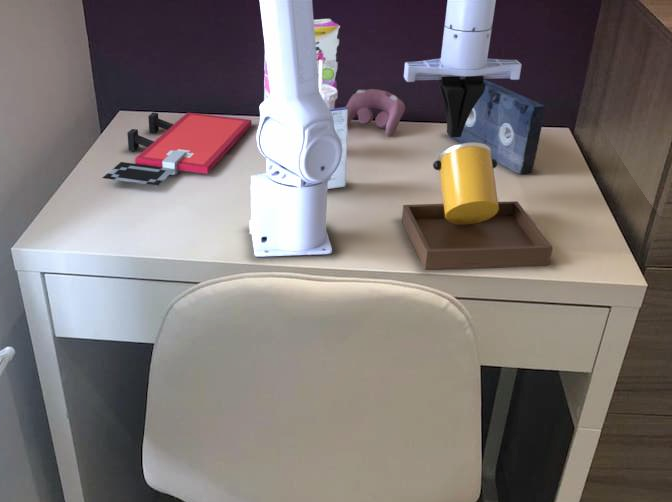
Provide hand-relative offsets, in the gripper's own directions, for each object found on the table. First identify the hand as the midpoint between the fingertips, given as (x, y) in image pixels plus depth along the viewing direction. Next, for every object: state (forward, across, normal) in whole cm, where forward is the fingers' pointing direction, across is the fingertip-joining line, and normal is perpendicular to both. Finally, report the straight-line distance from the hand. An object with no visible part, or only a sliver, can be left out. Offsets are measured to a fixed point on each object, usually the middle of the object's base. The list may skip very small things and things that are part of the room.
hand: (453, 134), depth 110 cm
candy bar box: (+9, +17, -30) cm, 36 cm away
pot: (+3, 0, +9) cm, 9 cm away
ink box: (+9, +19, -4) cm, 22 cm away
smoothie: (+9, +16, -18) cm, 26 cm away
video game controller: (+9, +5, -29) cm, 31 cm away
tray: (+9, 0, +13) cm, 16 cm away
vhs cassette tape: (+9, -11, -16) cm, 22 cm away
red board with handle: (+9, +37, -20) cm, 43 cm away
